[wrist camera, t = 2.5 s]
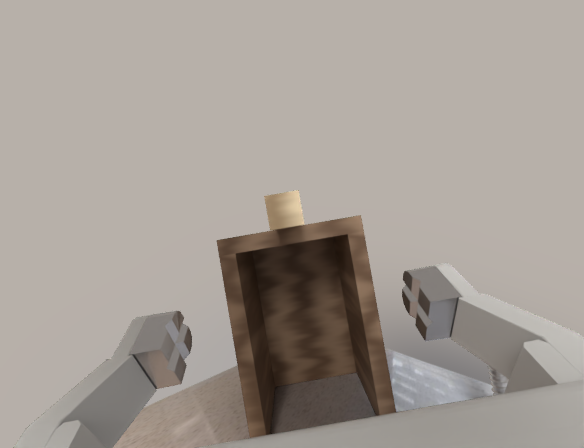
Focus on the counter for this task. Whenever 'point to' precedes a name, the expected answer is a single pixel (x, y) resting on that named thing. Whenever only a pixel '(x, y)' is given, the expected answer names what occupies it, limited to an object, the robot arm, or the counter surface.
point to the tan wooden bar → (284, 210)
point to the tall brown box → (303, 313)
